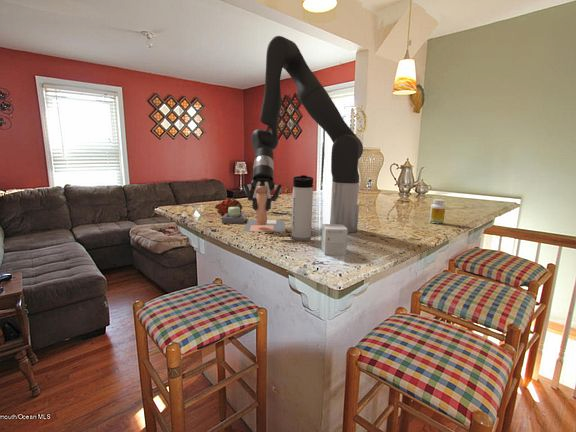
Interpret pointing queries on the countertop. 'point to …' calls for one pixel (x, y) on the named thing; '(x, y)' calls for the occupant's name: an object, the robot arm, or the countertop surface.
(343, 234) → the product box
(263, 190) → the tan tall block
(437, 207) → the supplement bottle
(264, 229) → the board
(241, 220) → the button housing
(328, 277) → the countertop surface
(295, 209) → the travel mug
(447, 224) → the countertop surface
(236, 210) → the button
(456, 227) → the countertop surface
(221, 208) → the dragon fruit
